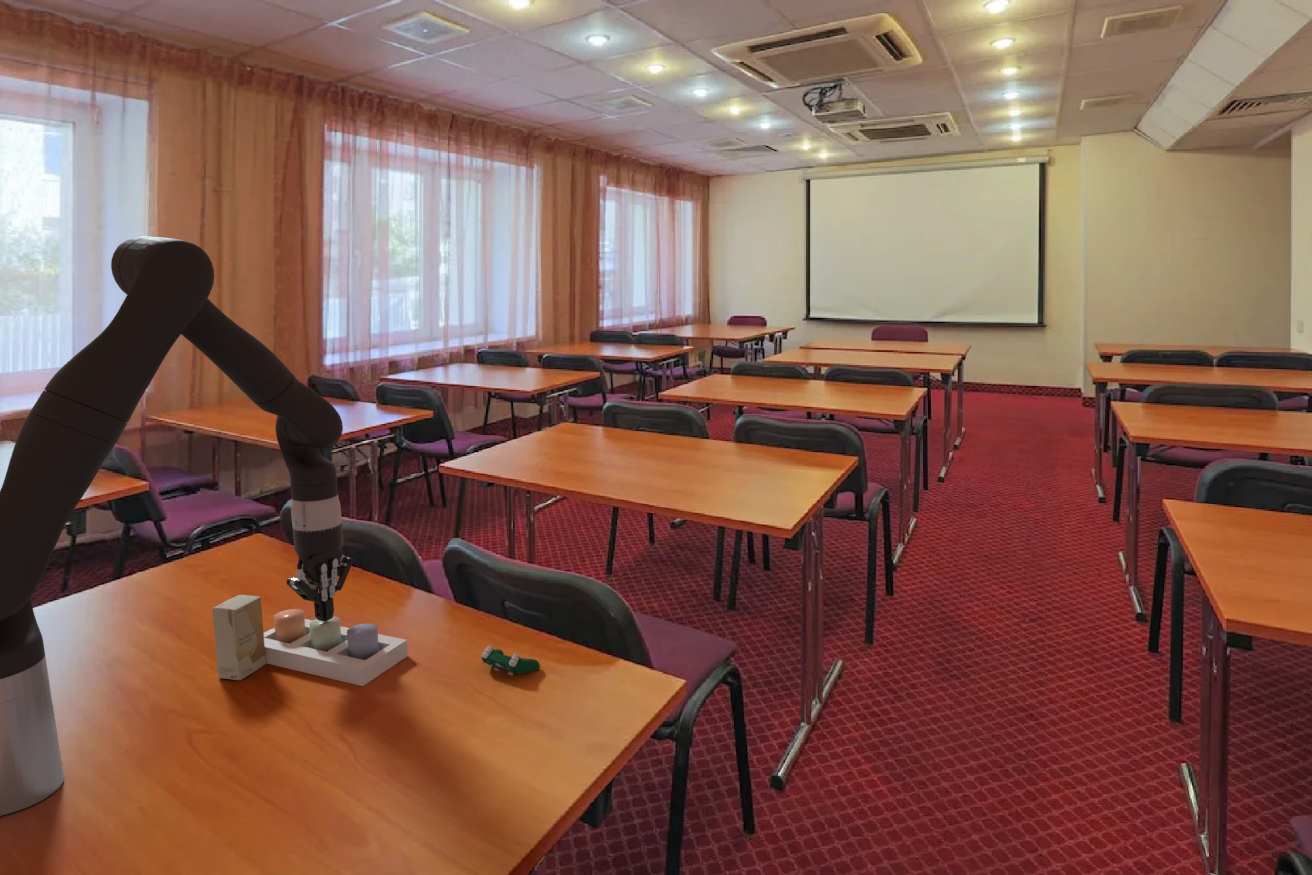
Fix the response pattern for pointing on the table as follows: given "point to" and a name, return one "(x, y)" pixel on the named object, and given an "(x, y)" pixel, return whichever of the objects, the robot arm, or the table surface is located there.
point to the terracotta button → (289, 625)
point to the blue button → (362, 641)
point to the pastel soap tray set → (334, 657)
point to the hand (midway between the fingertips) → (325, 619)
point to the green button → (325, 633)
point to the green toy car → (509, 662)
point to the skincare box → (239, 637)
